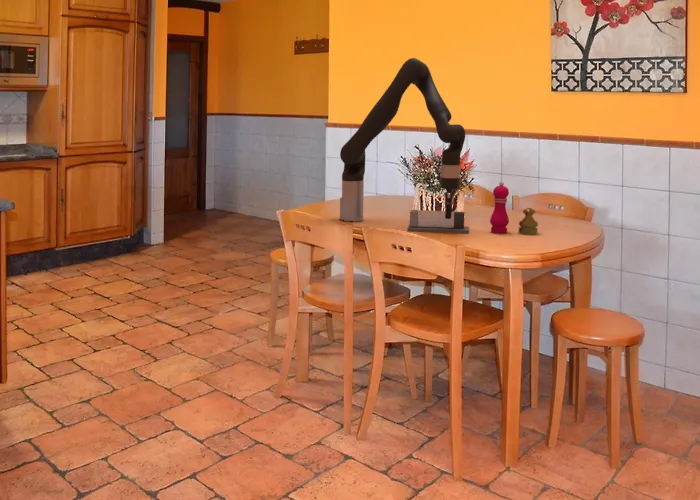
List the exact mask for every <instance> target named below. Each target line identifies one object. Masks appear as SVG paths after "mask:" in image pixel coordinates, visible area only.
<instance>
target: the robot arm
mask: <svg viewBox="0 0 700 500" xmlns="http://www.w3.org/2000/svg"><path fill="white" fill-rule="evenodd" d="M431 73H432V72H431V71H430V69H429V66H428V65H427V64H426V63H424V62H423V61H421V60H420V59H418V58H416V57H411V58H408V59H407V60H406V61H404V63H403V64H402V65H401V67H400V68H399V70H398V72H397V73H396V75H395V77H394V78H393V80H392V82H391V83H390V84H389V86H388V87H387V88H386V90H385V91H384V93H383V94H382V95H381V97H380V98H379V99H378V100H377V101H376V103H375V104H374V106H373V107H372V108H371V110H370V111H369V113H368V114H367V115H366V117H365V119H364V120H363V122H362V123H361V124H360V125H359V127H358V129H357V130H356V132H355V133H354V134H353V135H352V136H351V137H350V138H349V140H348V141H346V143H345V144H344V145H342V147H341V149H340V151H339V152H340V154H339V157H340V159H341V161H342V163H343V171H342V174H341V197H340V198H339V220H340V219H341V220H340V221H343V220H344V222H350V221H353V222H362V221H364V190H365V189H364V182H365V181H364V177H365V173H366V149H367V148H368V146H369V145H370V143H371V142H373V140H375V138H376V137H377V136H378V135H380V134H381V133H382V132H383V131H384V130H385V129H386V127H388V126H389V125H390V123H391V122H392V120H393V119H394V118H395V117H396V115H397V114H398V112H399V107H400V105H401V100H402V97H403V95H404V93H405V92H406V91H407V90H408V88H409V87H410V86H411V85H414V86H415V87H416V88H417V89H418V91H420V93H421V95H422V96H423V99H424V101H425V106H426V109H427V111H428V114H429V115H430V116H431V118H432V120H433V122H434V125H435V128H436V133H437V136H438V138H439V140H440V142H443V143H445V144H449V145H448V147H447V148H445V149H444V150H443V151H442V155H441V169H440V181H439V183H440V184H439V186H440V189H443V190H446V192H444V194H443V195H444V196H443V197H444V205H445V206H444V209H445V211H446V212H445V218H446V219H451V211H453V205H454V201H455V195H456V193H455V192H454V190H458V189H460V186H461V185H460V184H461V183H460V182H461V165H460V164H461V153H462V151H463V147H464V143H465V140H466V130H465V128H464V127H463V125H461V124H457V123H456V124H451V123H450V121H451V119H452V114H451V111H450V109H449V108H448V106H447V104H446V103H445V101H444V98H442V96H441V95H440V92H439V91H438V88H437V86H436V84H435V82H434V79H433V76H432V74H431Z"/></svg>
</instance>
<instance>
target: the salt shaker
mask: <svg viewBox="0 0 700 500" xmlns="http://www.w3.org/2000/svg"><path fill="white" fill-rule="evenodd" d="M536 212H537V211H536V210H535V209H533V208H532V207H527V208H525V209H522V213H523V214H524V217H523V218H522V219H521V220H519V221H518V225H519V226H518V234H521V235H525V236H526V235H530V236H531V235H532V236H535V235H537V234H538V226H539V222H538V221H536V219H534V217H533V215H534V214H536Z"/></svg>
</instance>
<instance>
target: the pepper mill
mask: <svg viewBox="0 0 700 500" xmlns="http://www.w3.org/2000/svg"><path fill="white" fill-rule="evenodd" d="M492 193H493V196H494V198H493V199H494V200H493V202H494V207H493V208H494V209H493V212H492V213H491V216H490V219H489V222H490V225H491V228H490V233H493V234H497V233H498V234H499V235H501V234H503V235H504V234H507V232H508V227H507V226H508V225H509V223H510V220H509V215H508V212H507V208H506V205H507V202H508V198H507V197H508V196H509V194H510V191H509V188H508V187H507V186H505V185H504V182H503V181H499V183H498V185H497V186H495V187H494V189H493V192H492Z"/></svg>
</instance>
